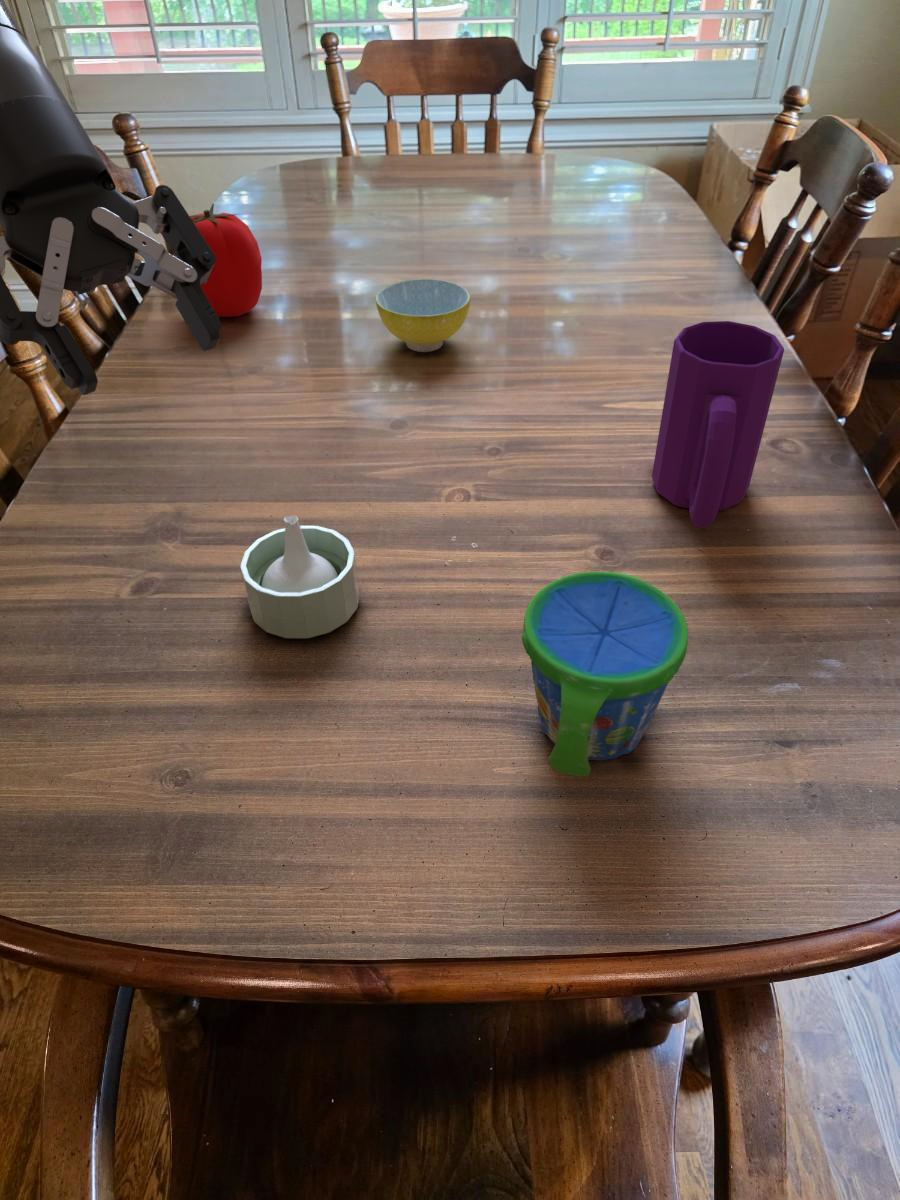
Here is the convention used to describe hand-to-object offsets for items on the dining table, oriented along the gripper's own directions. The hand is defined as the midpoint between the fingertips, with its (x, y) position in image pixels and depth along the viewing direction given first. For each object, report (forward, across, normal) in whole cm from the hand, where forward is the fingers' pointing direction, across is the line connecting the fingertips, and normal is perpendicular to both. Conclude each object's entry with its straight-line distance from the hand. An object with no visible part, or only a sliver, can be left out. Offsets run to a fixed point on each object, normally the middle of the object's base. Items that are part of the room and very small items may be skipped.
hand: (154, 365), depth 55 cm
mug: (+28, +42, +5) cm, 51 cm away
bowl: (-3, +47, +36) cm, 59 cm away
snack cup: (+36, +14, -2) cm, 38 cm away
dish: (+18, +7, +15) cm, 24 cm away
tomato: (-21, +35, +54) cm, 68 cm away
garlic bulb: (+18, +7, +15) cm, 24 cm away
